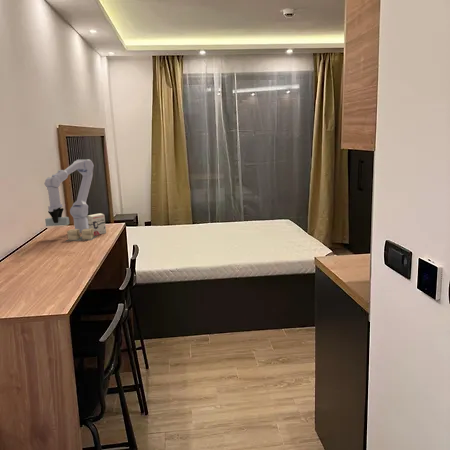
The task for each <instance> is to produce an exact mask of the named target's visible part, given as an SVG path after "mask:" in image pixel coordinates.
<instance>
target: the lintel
mask: <svg viewBox="0 0 450 450" xmlns="http://www.w3.org/2000/svg"><path fill="white" fill-rule="evenodd" d="M68 225H70V217H69V216H62V217H58V223H54V222H53V219H52V217H47V218H45V226H46V227H54V226H55V227H57V226H68Z"/></svg>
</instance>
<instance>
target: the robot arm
mask: <svg viewBox="0 0 450 450" xmlns="http://www.w3.org/2000/svg"><path fill="white" fill-rule="evenodd" d="M94 167H95V165H94V163H93V161H92V160H91V159H90V158H89V159H76V160H74V161H73V163H71V164H70V165H69V166H68V167H66V168H65V169H59V170H57V172H56V173H54V174H52V175H51V176H50V177H49V176H48V177H47V178H46V179H45V181H44V186H45V187H46V190H47V193H48V194H47V195H48V201H49V206H47V207H48V214H49V215H50V218H52V219H53V222H54V223H58V217H63V212H64V208H63V207H64V206H63V203H61V197H60V189H59V187H60V186H61V183H62V182H64V181H66V179H68V177H69V175H70V174H72V173H74V172H75V171H78V173H79V174H81V176H82V179H81V182H80V187H79V190H78V193H77V198H76V200H75V201H74V202H73V203H72V206H71V207H70V209H69V214H70V215H71V216H72V218H73V226H74V229H79V231H80V234H82V232H81V231H82V230H83V229H89V225H88V217H87V216H88V214H89V205H88V204H87V199H88V196H89V193H90V189H91V184H92V180H93V177H94V176H93V175H94V173H93V171H94Z"/></svg>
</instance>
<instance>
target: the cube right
mask: <svg viewBox="0 0 450 450" xmlns="http://www.w3.org/2000/svg"><path fill="white" fill-rule="evenodd" d="M81 232H82V233H81V236H82V240H84V239H92V238H94V236H95V235H94V231H93V228H92V229H83V230H82V231H81ZM94 239H95V238H94Z"/></svg>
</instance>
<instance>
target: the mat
mask: <svg viewBox="0 0 450 450" xmlns="http://www.w3.org/2000/svg"><path fill="white" fill-rule="evenodd" d="M97 237H98V235H94V238H92V239H84V240H82V235H80V238H79V239H78V240H68V239H66V240H65V242H81V241H82V242H84V241H93V240H95V238H97Z"/></svg>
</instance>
